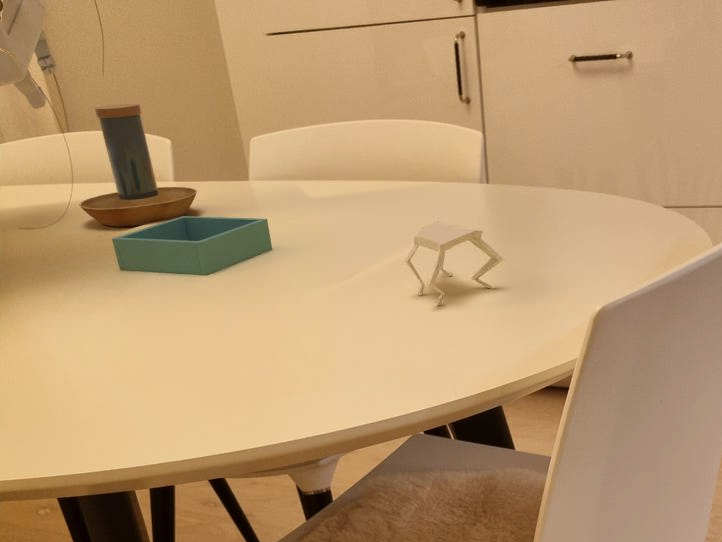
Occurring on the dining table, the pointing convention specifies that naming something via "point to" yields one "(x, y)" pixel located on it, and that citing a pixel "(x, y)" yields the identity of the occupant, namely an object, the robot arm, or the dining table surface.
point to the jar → (127, 151)
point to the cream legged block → (445, 238)
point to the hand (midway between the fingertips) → (46, 88)
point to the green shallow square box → (192, 245)
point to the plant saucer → (139, 207)
